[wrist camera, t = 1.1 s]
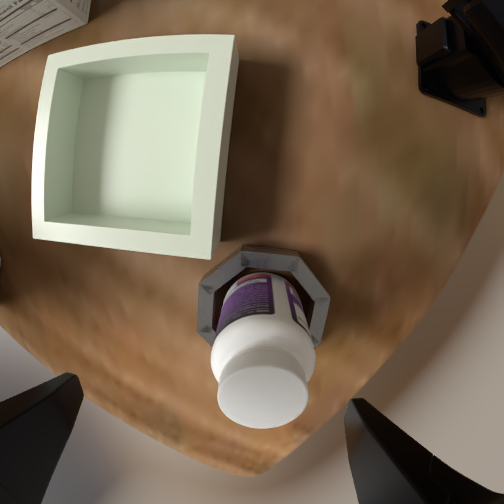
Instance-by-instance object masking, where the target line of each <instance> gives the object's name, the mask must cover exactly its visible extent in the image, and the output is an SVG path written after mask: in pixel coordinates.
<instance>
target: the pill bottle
mask: <svg viewBox="0 0 504 504" xmlns="http://www.w3.org/2000/svg"><path fill="white" fill-rule="evenodd" d="M211 367H212V371H213V373H214V376H215V378H216V379H217V381H218V383H219V387H218V395H217V398H218V403H219V406H220V408H221V410H222V411H223V413H224V414H225V415H226V416H227V417H228V418H230V419H231V420H233V421H234V422H236V423H238V424H241V425H243V426H247V427H251V428H273V427H278V426H281V425H284V424H287V423H289V422H290V421H292V420H294V419H295V418H297V417H298V416H299V415H300V414H301V413H302V412H303V410H304V409H305V407H306V405H307V402H308V387H307V382H308V381H309V379H310V378H311V376H312V373H313V371H314V367H315V350H314V345H313V341H312V338H311V334H310V331H309V328H308V324H307V321H306V317H305V314H304V311H303V307H302V304H301V301H300V298H299V296H298V293H297V291H296V290H295V288H294V287H293V286H292V284H291V283H290V282H288V281H287V280H286V279H284V278H283V277H281V276H279V275H276V274H273V273H267V272H257V273H252V274H248V275H246V276H244V277H242V278H240V279H239V280H237V281H236V282H235V283H234V284H233V285H232V286H231V287H230V289H229V290H228V292H227V294H226V296H225V299H224V302H223V306H222V310H221V315H220V319H219V323H218V327H217V331H216V335H215V339H214V343H213V346H212V353H211Z"/></svg>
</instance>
